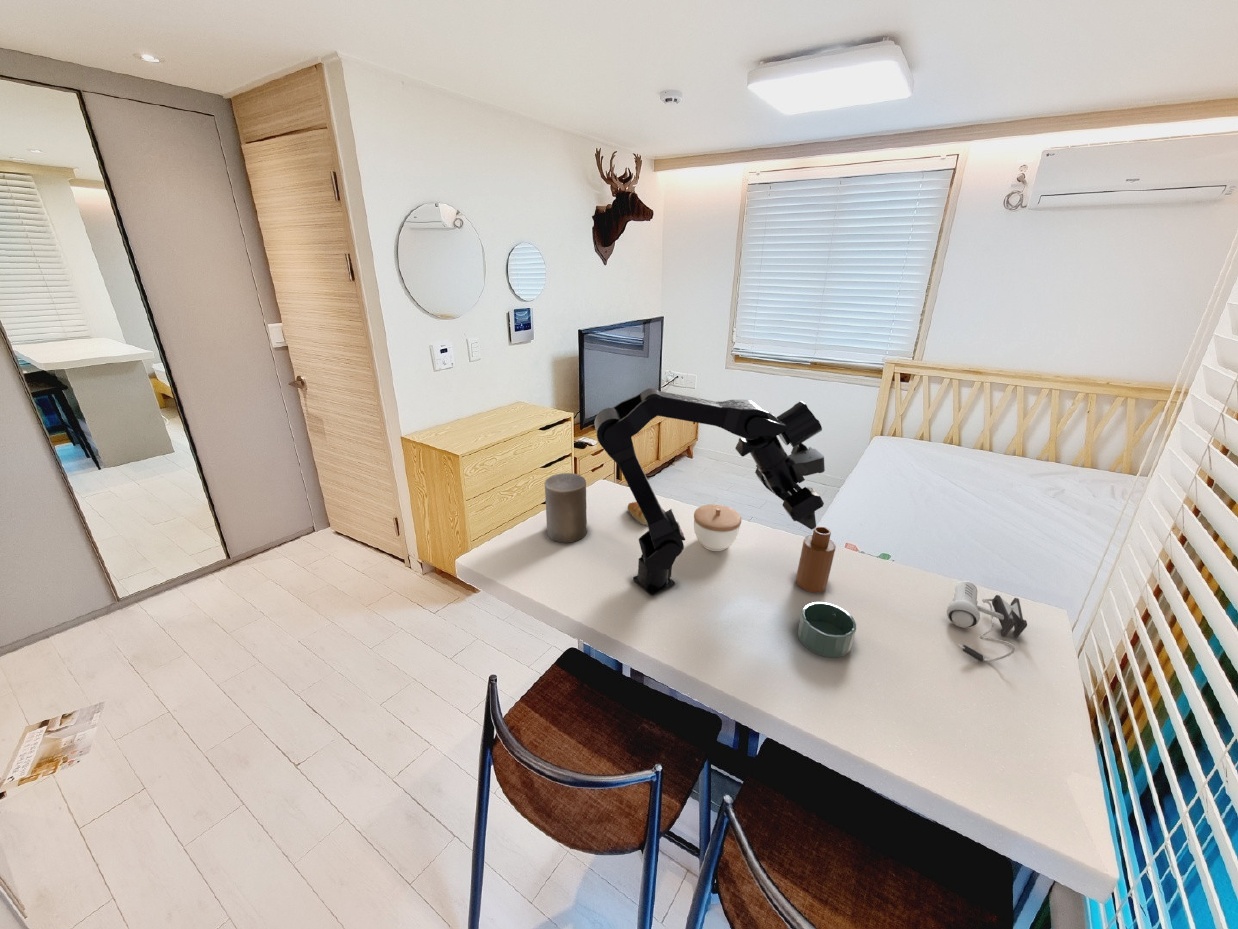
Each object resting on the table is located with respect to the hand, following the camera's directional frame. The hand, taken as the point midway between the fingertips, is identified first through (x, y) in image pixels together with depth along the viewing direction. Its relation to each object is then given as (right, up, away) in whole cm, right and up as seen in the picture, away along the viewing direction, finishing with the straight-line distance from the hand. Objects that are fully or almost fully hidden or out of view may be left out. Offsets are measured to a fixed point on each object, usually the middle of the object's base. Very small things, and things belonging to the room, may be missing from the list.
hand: (803, 516), depth 102 cm
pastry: (-31, -3, +27) cm, 41 cm away
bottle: (+3, -15, +3) cm, 15 cm away
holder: (0, -21, -11) cm, 24 cm away
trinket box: (-15, -8, +16) cm, 24 cm away
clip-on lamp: (+29, -21, -9) cm, 37 cm away
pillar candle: (-50, -6, +20) cm, 54 cm away
